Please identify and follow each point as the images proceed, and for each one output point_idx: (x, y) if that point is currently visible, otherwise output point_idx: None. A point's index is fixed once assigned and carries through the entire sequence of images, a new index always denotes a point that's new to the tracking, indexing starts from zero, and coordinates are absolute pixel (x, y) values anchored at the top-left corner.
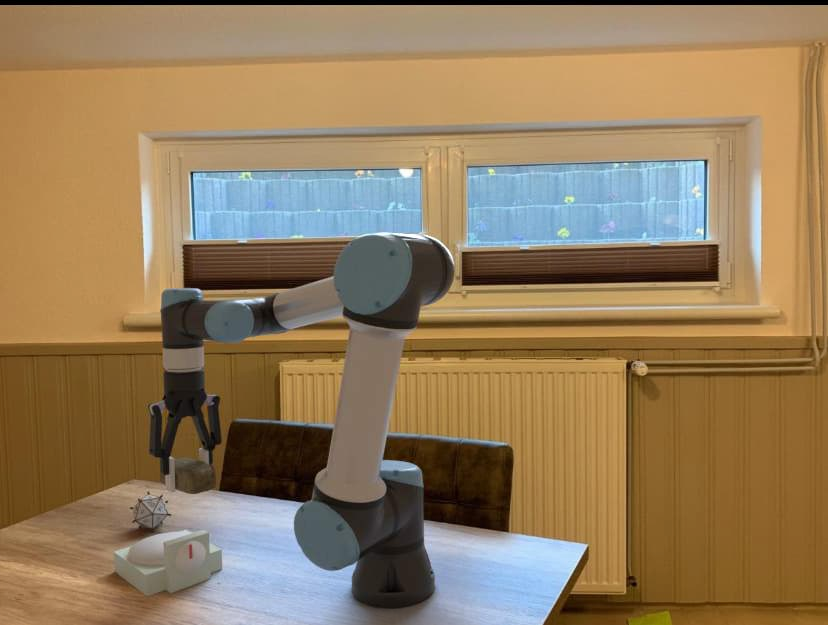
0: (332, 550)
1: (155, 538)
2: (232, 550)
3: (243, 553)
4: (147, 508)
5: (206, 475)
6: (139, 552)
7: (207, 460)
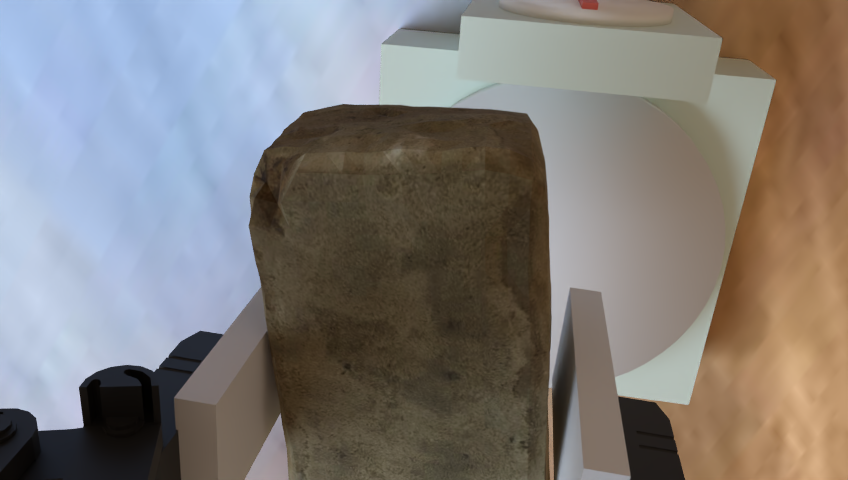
0: None
1: None
2: None
3: (256, 92)
4: None
5: (377, 132)
6: (668, 282)
7: (232, 342)
